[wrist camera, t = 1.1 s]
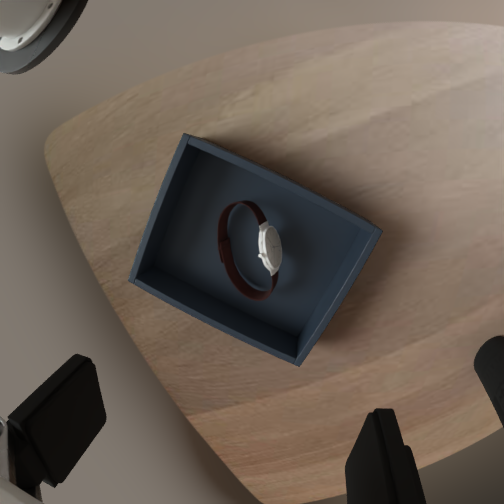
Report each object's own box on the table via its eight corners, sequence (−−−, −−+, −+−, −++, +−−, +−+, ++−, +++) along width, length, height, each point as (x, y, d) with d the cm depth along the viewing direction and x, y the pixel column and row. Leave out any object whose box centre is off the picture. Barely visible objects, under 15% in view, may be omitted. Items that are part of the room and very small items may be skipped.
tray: (147, 266, 28) (127, 280, 24) (199, 137, 24) (183, 132, 21) (299, 342, 28) (299, 367, 24) (371, 221, 24) (383, 231, 21)
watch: (291, 285, 26) (289, 303, 23) (236, 295, 27) (227, 314, 24) (269, 192, 24) (264, 196, 21) (211, 206, 25) (197, 212, 22)
